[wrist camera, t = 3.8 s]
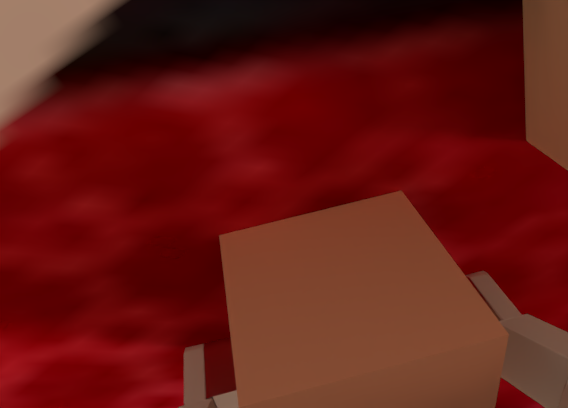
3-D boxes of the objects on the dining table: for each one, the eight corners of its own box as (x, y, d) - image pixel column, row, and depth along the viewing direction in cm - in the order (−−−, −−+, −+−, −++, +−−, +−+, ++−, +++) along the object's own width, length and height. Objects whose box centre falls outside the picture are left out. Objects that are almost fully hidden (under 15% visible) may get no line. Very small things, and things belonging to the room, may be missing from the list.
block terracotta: (400, 189, 12) (508, 334, 8) (402, 312, 15) (483, 464, 11) (218, 233, 12) (238, 407, 8) (256, 350, 15) (284, 522, 11)
